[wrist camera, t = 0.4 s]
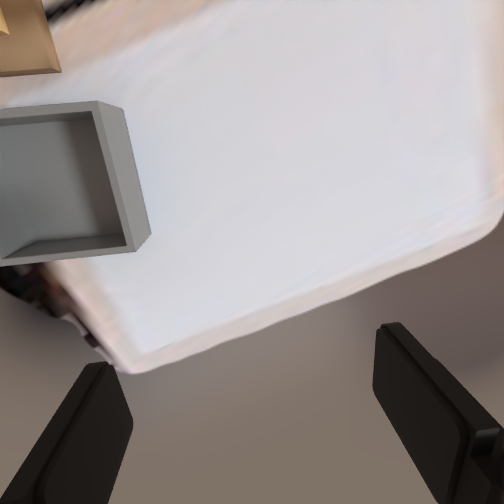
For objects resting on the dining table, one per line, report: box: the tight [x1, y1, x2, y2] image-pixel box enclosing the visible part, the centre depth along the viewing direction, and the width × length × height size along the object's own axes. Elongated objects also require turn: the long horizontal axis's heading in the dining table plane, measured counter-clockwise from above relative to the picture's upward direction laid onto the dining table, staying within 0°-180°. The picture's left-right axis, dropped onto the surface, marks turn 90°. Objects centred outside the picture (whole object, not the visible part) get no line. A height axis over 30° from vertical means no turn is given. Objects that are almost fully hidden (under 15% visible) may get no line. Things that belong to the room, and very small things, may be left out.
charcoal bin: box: [0, 101, 151, 266], centre depth 33 cm, size 16×16×7 cm
